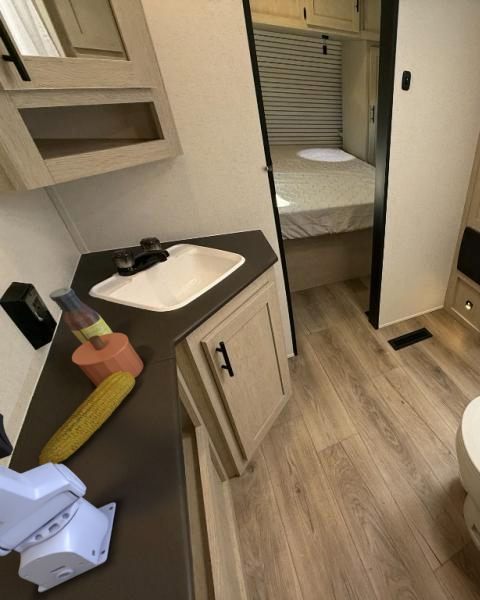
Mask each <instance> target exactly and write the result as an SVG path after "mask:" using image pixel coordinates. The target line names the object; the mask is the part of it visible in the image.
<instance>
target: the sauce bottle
mask: <svg viewBox="0 0 480 600" xmlns="http://www.w3.org/2000/svg"><path fill="white" fill-rule="evenodd" d="M49 298H50V299H51V301H53V302H55V303H56V305H57V306H58V307H59V308H60V310H61V312H62V321H63V322H64V323H65V325H66V326H67V327H68V329H69V330H70V331H71V332H72V333H73V335H74V336H75V337H76V338H77V339H78V340H79V342H81V345H82V344H84V343H86V342H87V341H88V339H89V338H90V337H92V336H96V335H98V336H101V335H105V334H109V333H114V332H113V331H112V329H111V328H110V326H109V325H108V324H107V323H106V322H105V319H103V318H102V316H101V314H100V313H98V311H96V310H95V309H93V308H92V307H90V306H89V305H87V304H86V303H84V302H82V301H81V300H80V299H79V297H78V296H77V295H76V292H75V290H74V289H72V287H68V286H67V287H66V286H65V287H61V288H58V289H55V290H53V291H51V292H50V293H49Z"/></svg>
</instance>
